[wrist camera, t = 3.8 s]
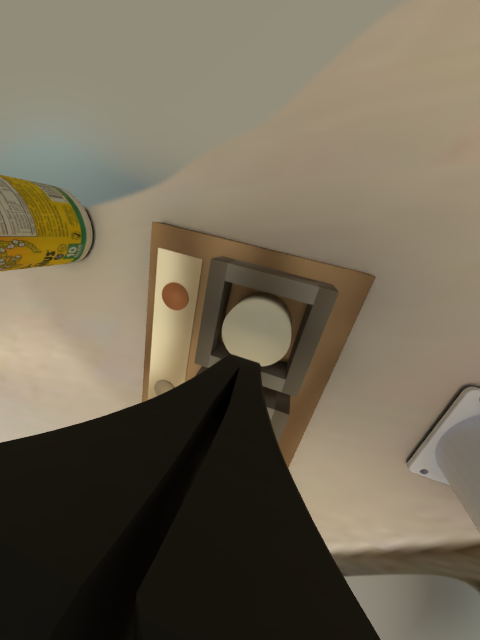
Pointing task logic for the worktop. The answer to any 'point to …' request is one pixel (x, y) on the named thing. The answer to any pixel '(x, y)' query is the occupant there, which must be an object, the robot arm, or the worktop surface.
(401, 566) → the worktop surface
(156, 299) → the board
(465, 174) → the worktop surface
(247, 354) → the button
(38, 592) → the robot arm
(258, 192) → the worktop surface
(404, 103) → the worktop surface
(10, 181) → the supplement bottle
